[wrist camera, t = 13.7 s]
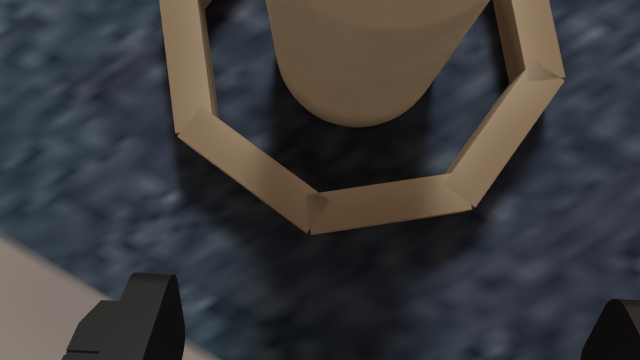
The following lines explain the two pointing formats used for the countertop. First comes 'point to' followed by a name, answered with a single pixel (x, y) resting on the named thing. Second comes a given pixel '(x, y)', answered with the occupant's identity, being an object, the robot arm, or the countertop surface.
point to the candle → (365, 52)
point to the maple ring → (380, 199)
